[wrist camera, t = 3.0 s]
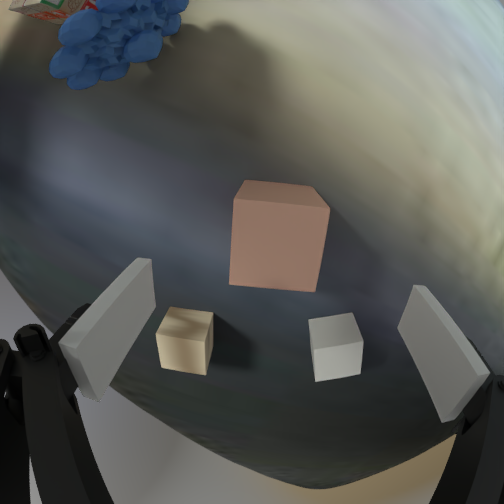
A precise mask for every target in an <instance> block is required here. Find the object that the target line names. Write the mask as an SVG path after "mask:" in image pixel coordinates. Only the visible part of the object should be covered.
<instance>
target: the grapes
mask: <svg viewBox="0 0 504 504" xmlns="http://www.w3.org/2000/svg"><path fill="white" fill-rule="evenodd" d="M188 3H189V0H96V4H95V5H96V7H97V8H98V10H99V11H97V10H94V9H85V10H80V11H78V12H76V13H74V14H72V15H71V16H70V17H68V18H67V19H66V20H65V21H64V23H63V24H62V26H61V27H60V29H59V34H58V39H59V41H60V42H61V44H62V45H65V46H63V47H62V48H60V49H59V50H58V51H57V52H56V53H55V54H54V56H53V57H52V59H51V61H50V63H49V72H50V74H51V75H52V76H53V77H54V78H60V79H63V78H67V85H68V86H69V87H70V88H71V89H75V90H81V89H86V88H89V87H91V86H93V85H95V84H96V83H97V82H98V80H99V79H100V80H103V81H113V80H116V79H119V78H122V77H124V76H125V74H126V73H127V71H128V68H129V66H130V62H133V63H139V62H146V61H149V60H152V59H154V58H157V57H158V55H159V53H160V51H161V48H162V44H163V38H162V37H165V36H169V35H173V34H175V33H177V32H178V30H179V28H180V26H181V17H180V15H179V14H178V13H180V12H182V11H184V10H185V9H186V7H187V5H188Z"/></svg>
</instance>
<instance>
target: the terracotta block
mask: <svg viewBox="0 0 504 504" xmlns="http://www.w3.org/2000/svg"><path fill="white" fill-rule="evenodd" d="M329 215H330V208H329V206H328V205H327V204H326V203H325V201H324V200H323V199H322V198H321V196H320V195H319V194H318V193H317V192H316V190H315V189H314V188H313V187H312V186H304V185H295V184H286V183H277V182H267V181H256V180H244V182H243V184H242V185H241V187H240V189H239V191H238V192H237V194H236V196H235V198H234V203H233V220H232V238H231V257H230V278H229V284H230V285H240V286H250V287H260V288H271V289H282V290H293V291H306V292H315V290H316V285H317V280H318V275H319V270H320V265H321V260H322V255H323V249H324V244H325V238H326V233H327V227H328V221H329Z"/></svg>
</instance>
